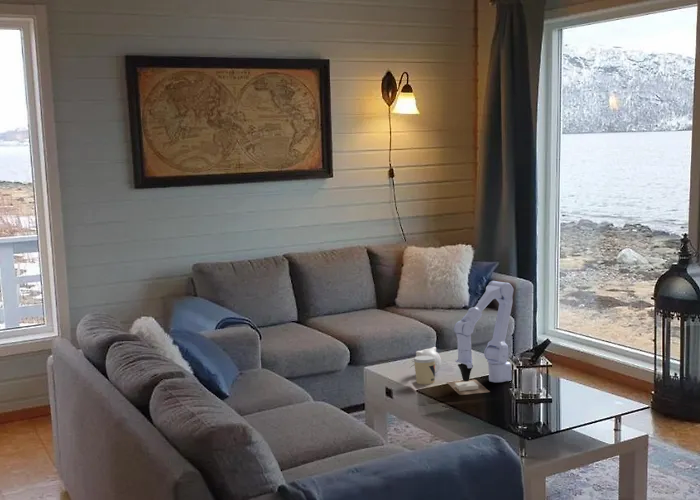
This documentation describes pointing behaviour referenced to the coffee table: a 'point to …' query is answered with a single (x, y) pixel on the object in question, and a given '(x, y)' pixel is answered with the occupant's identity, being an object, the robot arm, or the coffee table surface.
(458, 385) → the tile
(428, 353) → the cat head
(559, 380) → the coffee table surface
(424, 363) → the coffee cup
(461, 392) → the board
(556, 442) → the coffee table surface
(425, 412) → the coffee table surface
